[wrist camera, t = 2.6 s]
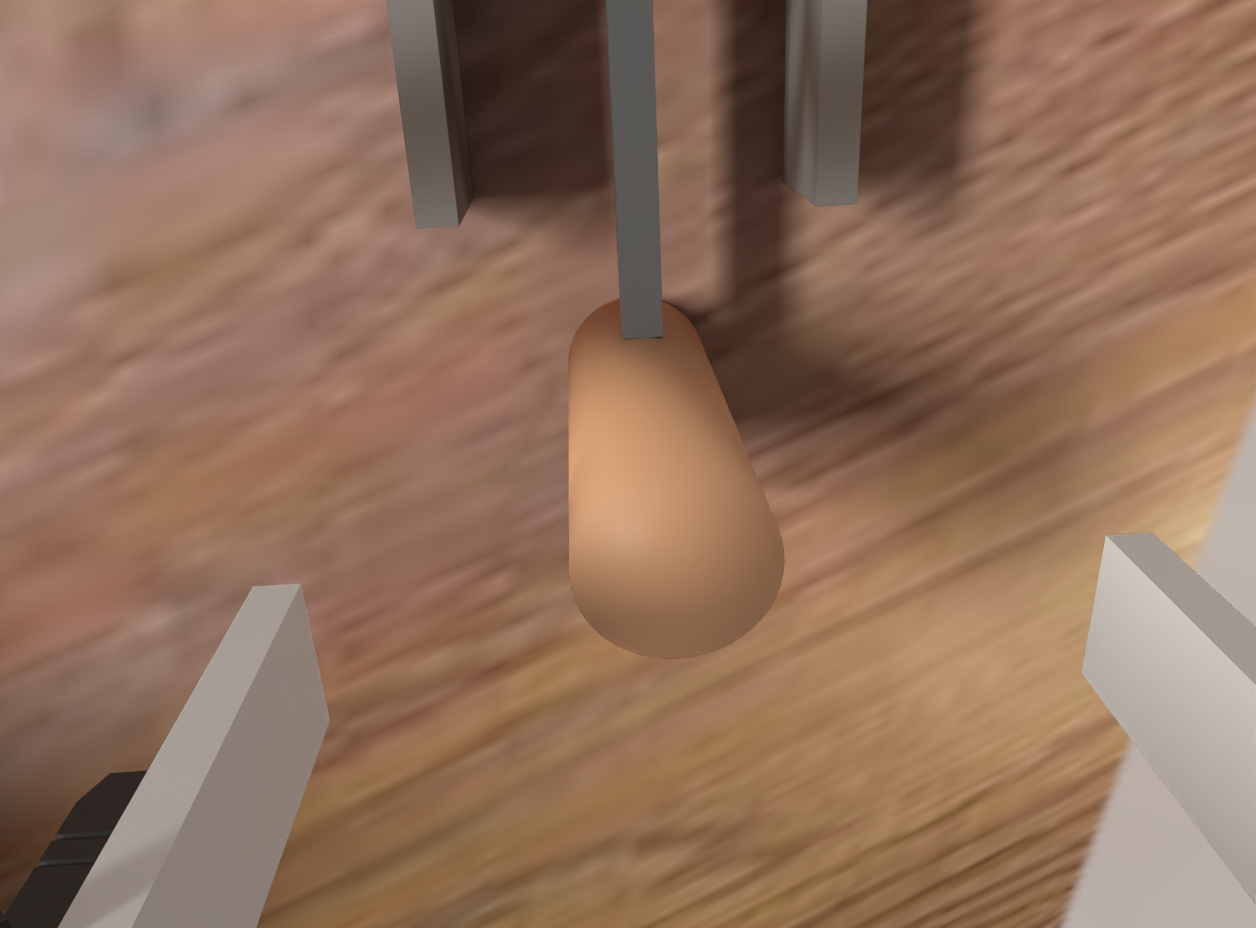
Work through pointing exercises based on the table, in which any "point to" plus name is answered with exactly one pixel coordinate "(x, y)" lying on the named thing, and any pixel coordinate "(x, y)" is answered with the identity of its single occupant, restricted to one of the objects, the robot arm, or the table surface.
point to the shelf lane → (813, 104)
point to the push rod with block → (657, 427)
